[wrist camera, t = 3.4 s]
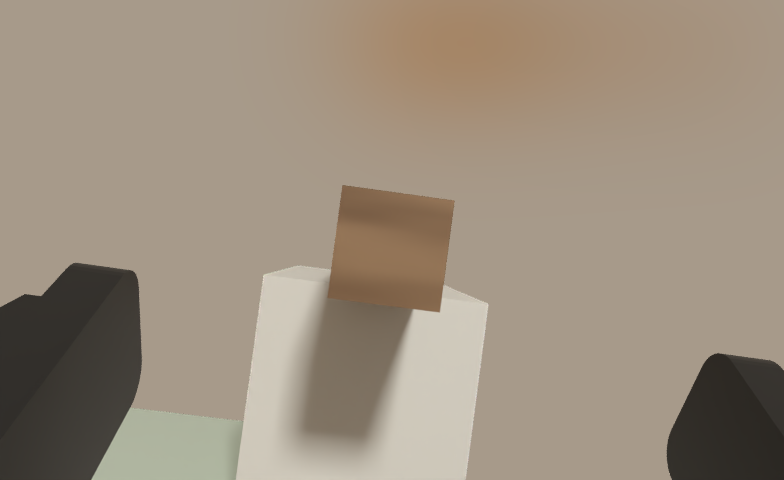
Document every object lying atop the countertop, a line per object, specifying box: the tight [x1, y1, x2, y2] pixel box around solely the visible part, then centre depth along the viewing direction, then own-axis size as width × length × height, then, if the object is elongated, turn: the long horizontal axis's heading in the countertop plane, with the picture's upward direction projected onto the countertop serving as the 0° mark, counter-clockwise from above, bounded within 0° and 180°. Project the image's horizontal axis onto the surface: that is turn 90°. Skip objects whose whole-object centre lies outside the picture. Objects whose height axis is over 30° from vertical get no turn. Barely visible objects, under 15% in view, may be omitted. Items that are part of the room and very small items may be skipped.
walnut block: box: [327, 185, 454, 313], centre depth 32 cm, size 24×4×4 cm, turn 3°
